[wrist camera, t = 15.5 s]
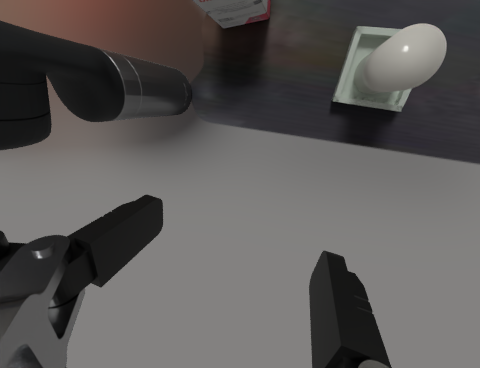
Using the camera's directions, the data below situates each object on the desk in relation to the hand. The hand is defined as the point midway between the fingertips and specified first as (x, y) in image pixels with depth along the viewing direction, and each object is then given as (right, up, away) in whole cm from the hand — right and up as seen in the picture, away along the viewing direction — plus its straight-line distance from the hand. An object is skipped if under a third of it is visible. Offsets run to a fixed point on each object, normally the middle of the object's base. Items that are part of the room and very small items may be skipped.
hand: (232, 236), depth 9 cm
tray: (+22, +20, +21) cm, 37 cm away
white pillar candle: (+22, +20, +21) cm, 36 cm away
